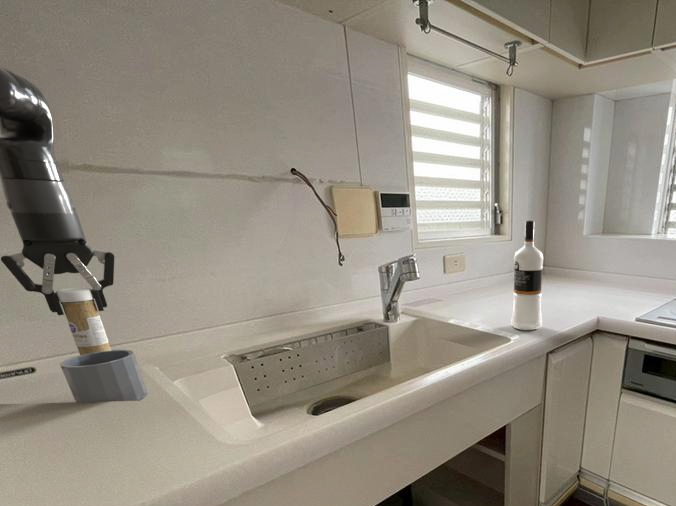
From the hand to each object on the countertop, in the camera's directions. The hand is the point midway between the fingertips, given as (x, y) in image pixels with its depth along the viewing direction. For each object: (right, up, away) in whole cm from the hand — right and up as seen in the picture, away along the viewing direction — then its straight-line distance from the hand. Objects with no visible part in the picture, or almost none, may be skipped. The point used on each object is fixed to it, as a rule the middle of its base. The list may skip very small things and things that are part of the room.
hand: (81, 311), depth 73 cm
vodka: (+84, +3, +49) cm, 97 cm away
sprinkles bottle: (0, -9, +3) cm, 10 cm away
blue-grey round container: (+7, -16, -1) cm, 17 cm away
